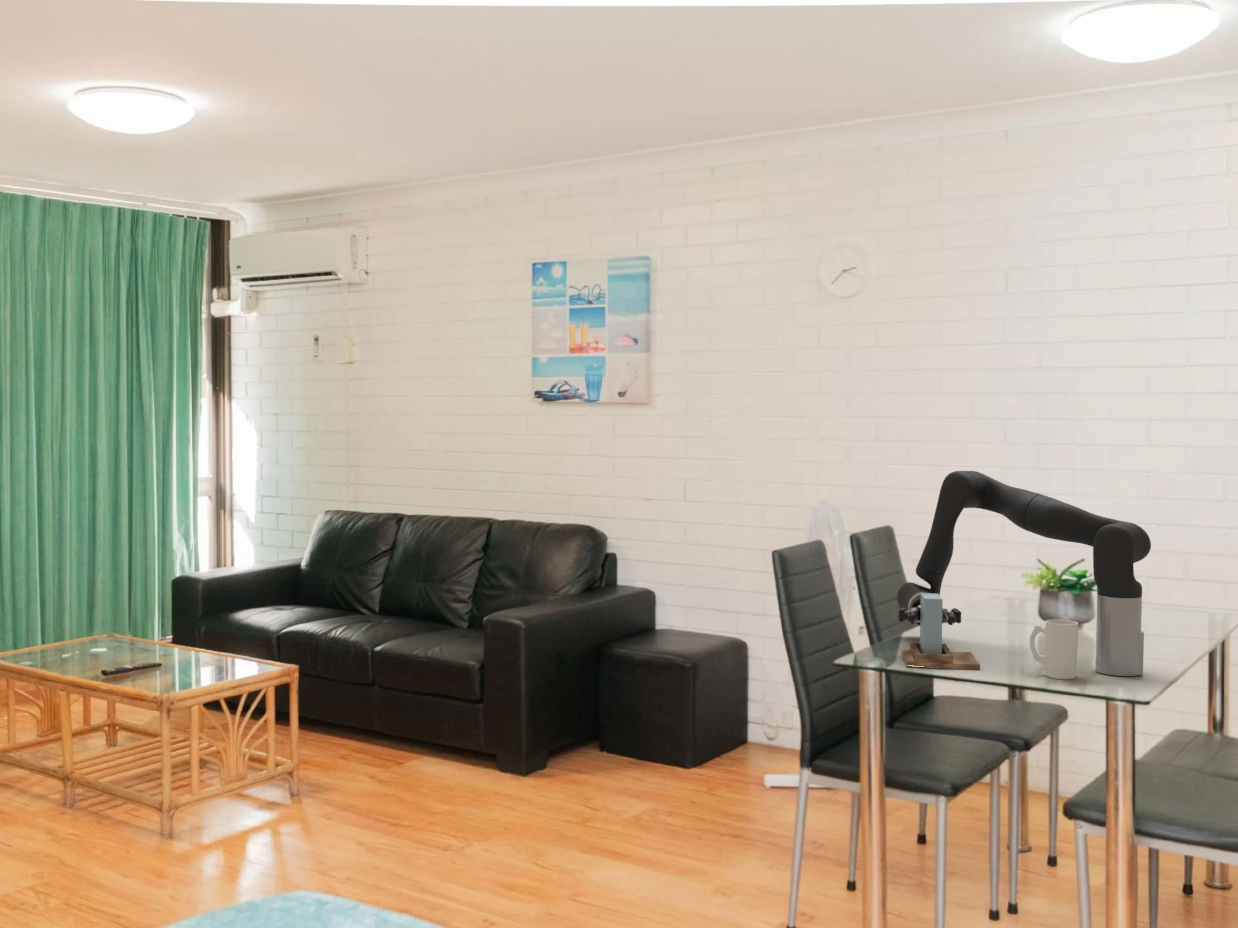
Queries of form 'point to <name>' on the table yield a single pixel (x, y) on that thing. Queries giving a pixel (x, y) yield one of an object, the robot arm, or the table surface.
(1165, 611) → the table surface
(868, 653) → the table surface
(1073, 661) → the mug
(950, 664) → the base
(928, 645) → the door panel
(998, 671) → the table surface
